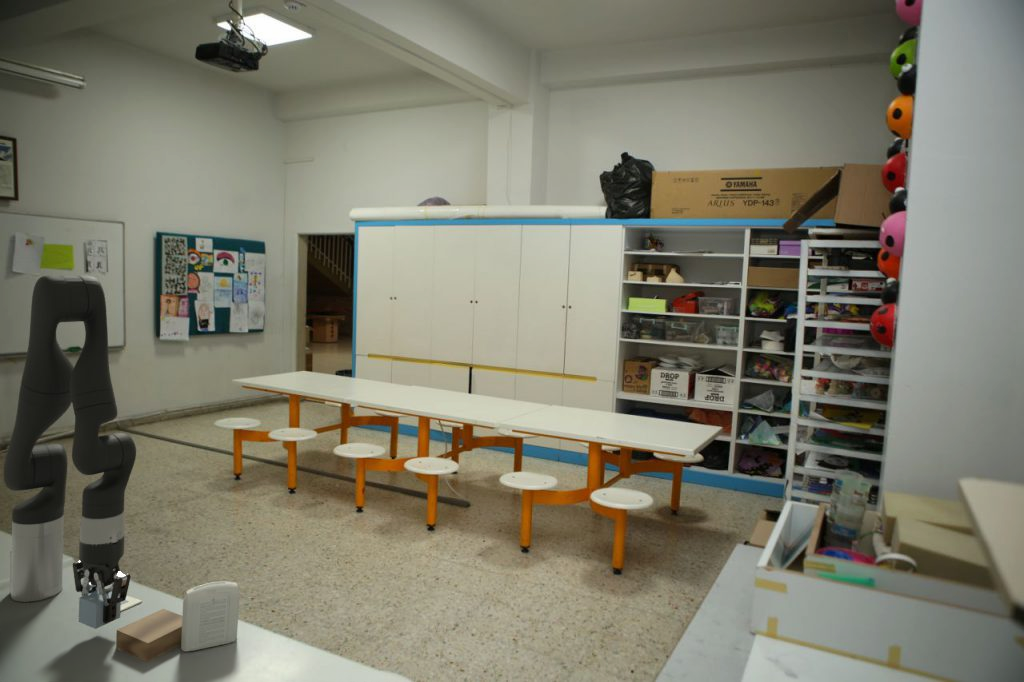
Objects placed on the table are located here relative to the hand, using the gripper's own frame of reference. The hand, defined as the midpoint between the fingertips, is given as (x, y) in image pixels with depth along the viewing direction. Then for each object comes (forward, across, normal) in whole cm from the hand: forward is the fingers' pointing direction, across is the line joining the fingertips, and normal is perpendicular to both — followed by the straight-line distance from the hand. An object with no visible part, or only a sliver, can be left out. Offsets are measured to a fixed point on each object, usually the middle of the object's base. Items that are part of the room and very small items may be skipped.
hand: (99, 617), depth 128 cm
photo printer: (+4, +21, +8) cm, 23 cm away
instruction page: (+4, -9, +11) cm, 15 cm away
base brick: (+4, +12, +4) cm, 13 cm away
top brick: (0, 0, 0) cm, 0 cm away
